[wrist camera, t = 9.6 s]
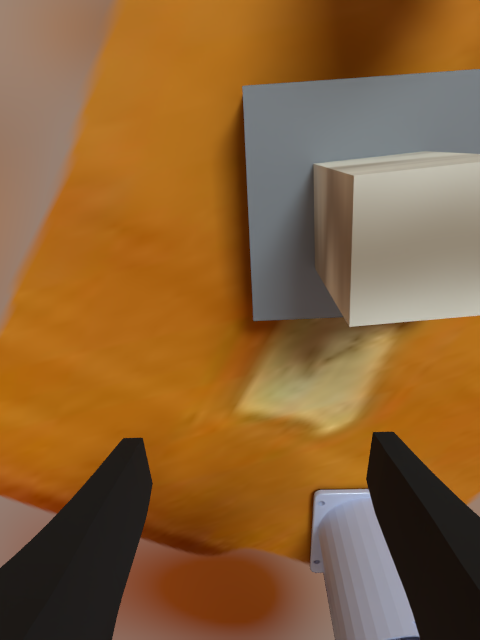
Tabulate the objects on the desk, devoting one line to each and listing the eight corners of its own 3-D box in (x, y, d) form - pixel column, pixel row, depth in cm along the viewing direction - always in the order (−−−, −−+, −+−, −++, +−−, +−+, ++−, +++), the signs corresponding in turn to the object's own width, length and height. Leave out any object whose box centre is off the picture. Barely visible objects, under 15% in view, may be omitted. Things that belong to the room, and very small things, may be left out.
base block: (430, 289, 21) (457, 312, 18) (252, 298, 21) (253, 320, 18) (467, 79, 16) (511, 66, 14) (243, 95, 17) (242, 86, 14)
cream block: (413, 258, 17) (495, 313, 11) (314, 268, 17) (349, 326, 12) (424, 151, 15) (530, 156, 9) (313, 163, 15) (354, 175, 10)
